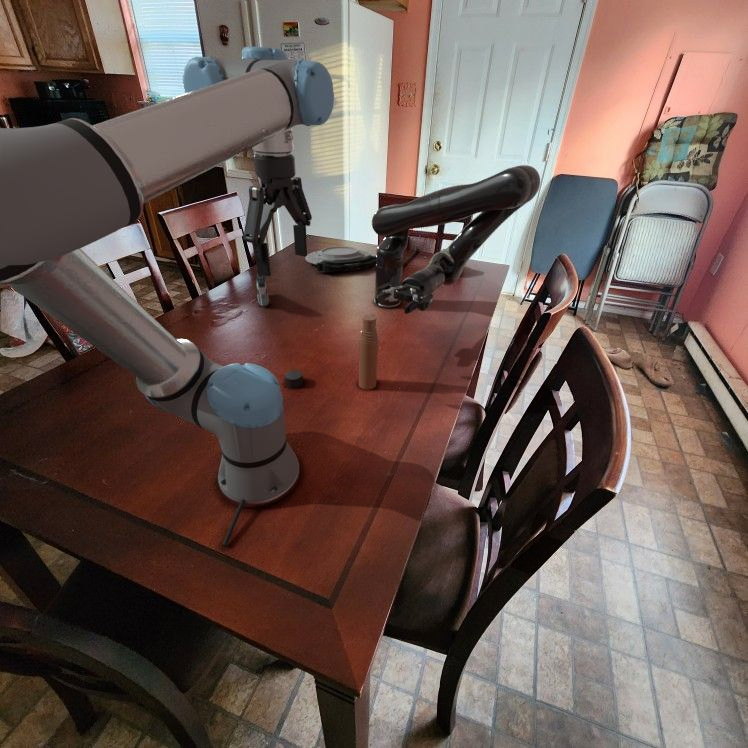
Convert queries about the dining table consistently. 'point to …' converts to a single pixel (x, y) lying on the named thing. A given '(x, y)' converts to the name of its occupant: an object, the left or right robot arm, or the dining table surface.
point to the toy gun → (262, 290)
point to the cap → (293, 378)
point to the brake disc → (341, 259)
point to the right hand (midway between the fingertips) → (391, 305)
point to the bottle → (368, 353)
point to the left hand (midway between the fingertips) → (283, 264)
